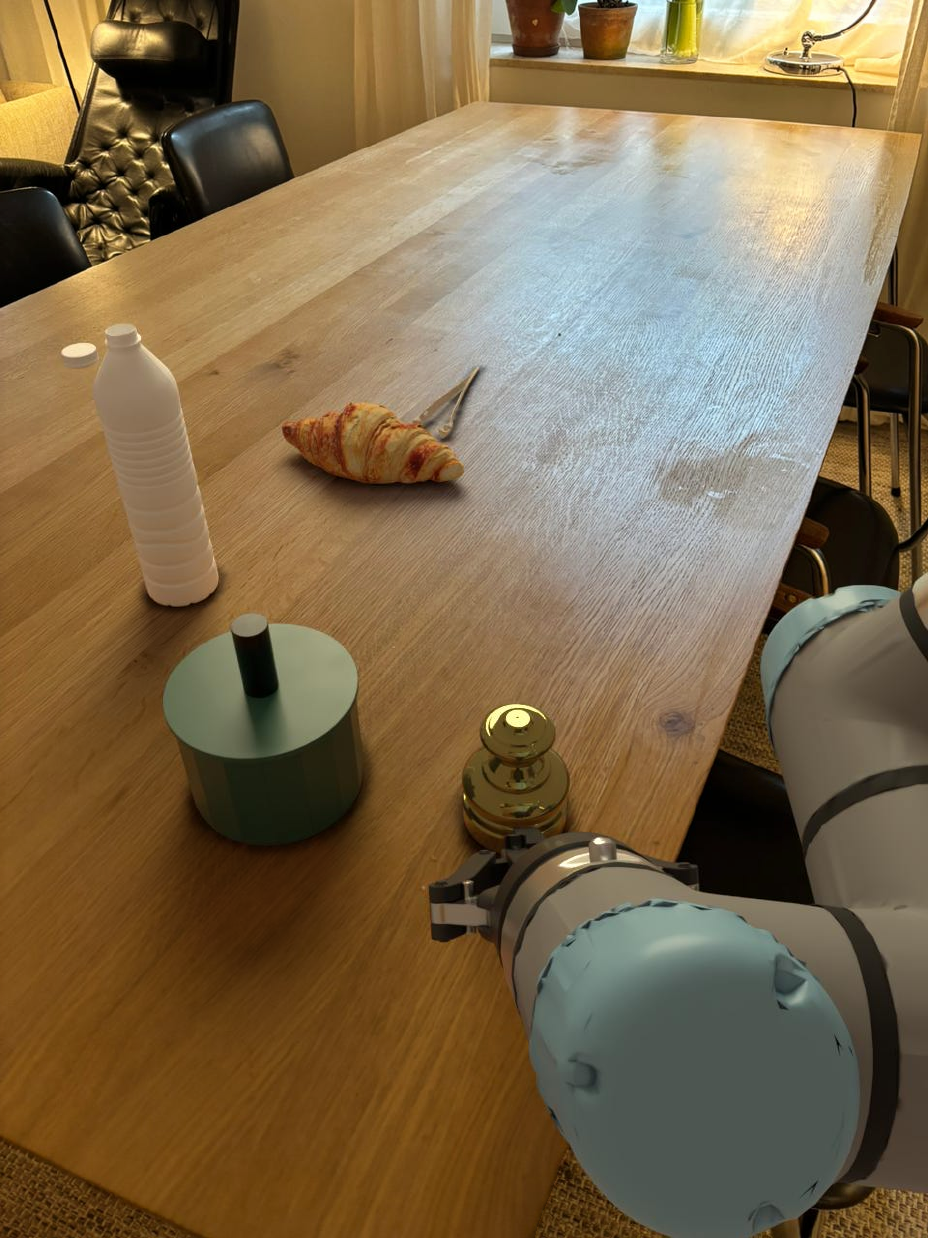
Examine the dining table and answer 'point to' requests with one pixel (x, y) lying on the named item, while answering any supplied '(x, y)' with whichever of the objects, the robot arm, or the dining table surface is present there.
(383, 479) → the croissant
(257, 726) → the pot lid
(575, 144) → the dining table surface
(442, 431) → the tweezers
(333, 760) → the pot
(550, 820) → the brass calibration weight
